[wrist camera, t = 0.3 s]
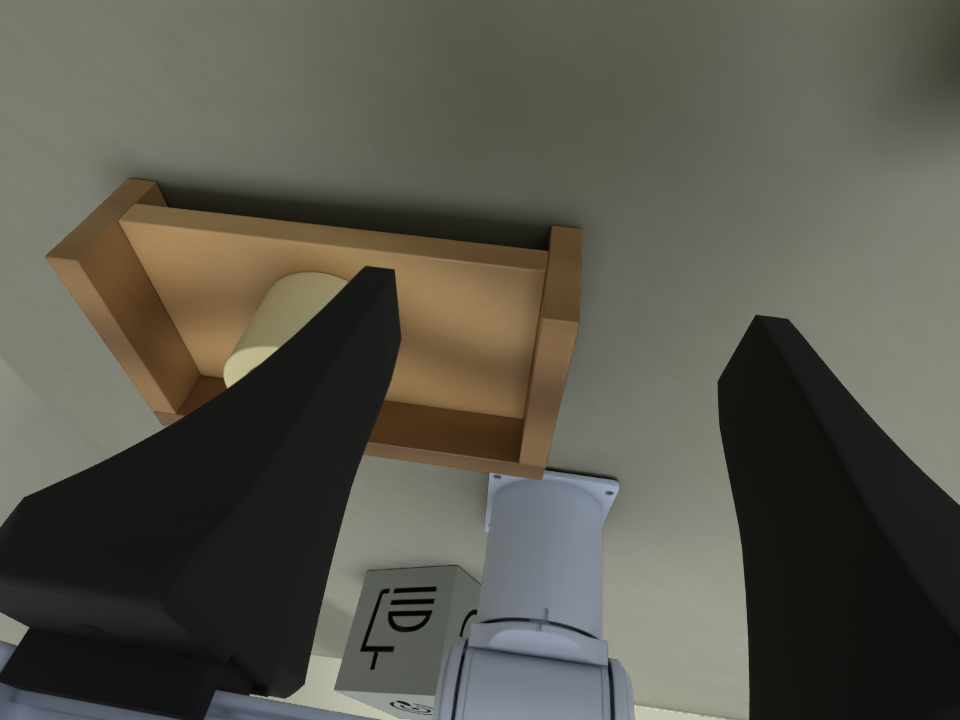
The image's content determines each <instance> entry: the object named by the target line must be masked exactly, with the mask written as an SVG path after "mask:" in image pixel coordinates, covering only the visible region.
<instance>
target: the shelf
mask: <svg viewBox="0 0 960 720" xmlns="http://www.w3.org/2000/svg"><path fill="white" fill-rule="evenodd" d="M582 239H583V230H582V229H578V228H569V227H560V226H552V227H551V233H550V240H549V246H548V251H543V250H534V249H525V248H516V247H508V246H499V245H490V244H482V243H473V242H464V241H456V240H447V239H438V238H430V237H421V236H412V235H404V234H395V233H386V232H378V231H369V230H360V229H352V228H343V227H334V226H326V225H317V224H308V223H300V222H291V221H282V220H274V219H265V218H256V217H247V216H239V215H230V214H221V213H213V212H204V211H195V210H187V209H178V208H169V207H167V205H166V202H165V200H164V198H163V196H162V193H161V191H160V189H159V187H158V185H157V182H155V181H148V180H139V179H131V178H130V179H128V180H127V181H126V182H124V183H123V184H122V185H121V186H120V187H119V188H118V189H117V190H116V191H115V192H114V193H113V194H112V195H110V196H109V197H108V198H107V199H106V200H105V201H104V202H103V203H102V204H101V205H100V206H99V207H98V208H96V209H95V210H94V211H93V212H92V213H91V214H90V215H89V216H88V217H87V218H86V219H85V220H84V221H82V222H81V223H80V224H79V225H78V226H77V227H76V228H75V229H74V230H73V231H72V232H71V233H70V234H68V235H67V236H66V237H65V238H64V239H63V240H62V241H61V242H60V243H59V244H58V245H57V246H56V247H54V248H53V249H52V250H51V251H50V252H49V253H48V254H47V255H46V256H45V258H46V259H47V261H48V262H49V264H50V265H51V267H52V268H53V269H54V271H55V272H56V274H57V275H58V277H59V278H60V279H61V281H62V282H63V284H64V285H65V287H66V288H67V289H68V291H69V292H70V294H71V295H72V297H73V298H74V300H75V301H76V302H77V304H78V305H79V307H80V308H81V310H82V311H83V312H84V314H85V315H86V317H87V318H88V320H89V321H90V322H91V324H92V325H93V327H94V328H95V330H96V331H97V332H98V334H99V335H100V337H101V338H102V340H103V341H104V342H105V344H106V345H107V347H108V348H109V350H110V351H111V352H112V354H113V355H114V357H115V358H116V360H117V361H118V362H119V364H120V365H121V367H122V368H123V370H124V371H125V372H126V374H127V375H128V377H129V378H130V380H131V381H132V383H133V384H134V385H135V387H136V388H137V390H138V391H139V393H140V394H141V395H142V397H143V398H144V400H145V401H146V403H147V404H148V405H149V407H150V408H151V410H152V411H153V413H154V414H155V415H156V417H157V418H158V420H159V421H160V423H161V424H162V425H163V426H170V425H171V424H173V423H175V422H176V421H178V420H179V419H181V418H183V417H184V416H186V415H188V414H189V413H191V412H192V411H194V410H196V409H197V408H199V407H200V406H202V405H204V404H205V403H207V402H208V401H210V400H211V399H213V398H214V397H216V396H217V395H219V394H220V393H222V392H223V391H225V390H226V389H227V386H226V384H225V381H224V376H223V372H224V365H225V363H226V361H227V359H228V357H229V356H230V354H231V352H232V351H233V349H234V347H235V346H236V344H237V342H238V341H239V339H240V338H241V336H242V334H243V333H244V331H245V329H246V328H247V326H248V324H249V323H250V321H251V319H252V318H253V316H254V314H255V313H256V311H257V309H258V308H259V306H260V304H261V303H262V301H263V299H264V298H265V296H266V294H267V293H268V291H269V289H270V288H271V287H272V286H273V284H274V283H276V282H277V281H278V280H280V279H282V278H284V277H286V276H288V275H291V274H295V273H301V272H317V273H324V274H329V275H333V276H336V277H339V278H342V279H345V280H347V281H350V280H351V279H352V278H353V277H354V276H355V275H356V274H357V273H358V272H359V271H360V270H361V269H362V268H364V267H365V266H372V267H380V268H388V269H395V276H396V286H397V297H398V307H399V318H400V328H401V343H400V348H399V352H398V356H397V360H396V364H395V368H394V372H393V376H392V380H391V383H390V386H389V388H388V391H387V394H386V396H385V399H384V402H383V404H382V407H381V409H380V412H379V415H378V417H377V420H376V422H375V425H374V428H373V430H372V433H371V435H370V438H369V440H368V443H367V446H366V448H365V451H364V453H363V455H369V456H376V457H383V458H390V459H397V460H404V461H411V462H418V463H425V464H431V465H438V466H445V467H452V468H459V469H466V470H473V471H480V472H487V473H493V474H500V475H507V476H514V477H521V478H528V479H535V480H542V479H543V476H544V471H545V467H546V463H547V459H548V454H549V450H550V446H551V442H552V437H553V433H554V429H555V425H556V420H557V416H558V412H559V408H560V403H561V399H562V395H563V391H564V386H565V382H566V378H567V374H568V369H569V365H570V361H571V357H572V352H573V348H574V344H575V340H576V336H577V331H578V327H579V321H580V294H581V266H582Z"/></svg>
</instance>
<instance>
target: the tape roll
mask: <svg viewBox="0 0 960 720" xmlns="http://www.w3.org/2000/svg"><path fill="white" fill-rule="evenodd" d="M348 282H349V281H347V280H345V279H342V278H339V277H336V276H333V275H329V274H324V273H317V272H301V273H295V274H291V275H288V276H286V277H284V278H282V279H280V280H278V281H277V282H276V283H274V284H273V286H272V287H271V288H270V289H269V291H268V293H267V294H266V296H265V298H264V299H263V301H262V303H261V304H260V306H259V308H258V309H257V311H256V313H255V314H254V316H253V318H252V319H251V321H250V323H249V324H248V326H247V328H246V329H245V331H244V333H243V334H242V336H241V338H240V339H239V341H238V342H237V344H236V346H235V347H234V349H233V351H232V352H231V354H230V356H229V357H228V359H227V361H226V363H225V365H224V372H223V376H224V381H225V384H226V386H227V388H229V387H230V386H231V385H233V384H234V383H236V382H237V381H238V380H240V379H241V378H242V377H244V376H245V375H246V374H248V373H249V372H250V371H252V370H253V369H254V368H256V367H257V366H258V365H259V364H261V363H262V362H263V361H264V360H266V359H267V358H268V357H269V356H270V355H271V354H273V353H274V352H275V351H276V350H277V349H278V348H280V347H281V346H282V345H283V344H284V343H286V342H287V341H288V340H289V339H290V338H291V337H293V336H294V335H295V334H296V333H297V332H298V331H299V330H300V329H301V328H302V327H303V326H304V325H306V324H307V323H308V322H309V321H310V320H311V319H312V318H313V317H314V316H315V315H316V314H317V313H318V312H319V311H320V310H321V309H322V308H324V307H325V306H326V305H327V304H328V303H329V302H330V301H331V300H332V299H333V298H334V297H335V296H336V295H337V294H338V293H339V292H340V291H341V289H342V288H343V287H344V286H345V285H346V284H347V283H348Z"/></svg>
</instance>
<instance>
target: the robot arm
mask: <svg viewBox="0 0 960 720" xmlns="http://www.w3.org/2000/svg"><path fill="white" fill-rule="evenodd" d="M400 343H401V328H400V318H399V307H398V297H397V286H396V276H395V269H388V268H380V267H372V266H365V267H364V268H362V269H361V270H360V271H359V272H358V273H357V274H356V275H355V276H354V277H353V278H352V279H351V280H350V281H349V282H348V283H347V284H346V285H345V286H344V287H343V288H342V289H341V291H340V292H339V293H338V294H337V295H336V296H335V297H334V298H333V299H332V300H331V301H330V302H329V303H328V304H327V305H326V306H325V307H324V308H322V309H321V310H320V311H319V312H318V313H317V314H316V315H315V316H314V317H313V318H312V319H311V320H310V321H309V322H308V323H307V324H306V325H304V326H303V327H302V328H301V329H300V330H299V331H298V332H297V333H296V334H295V335H294V336H293V337H291V338H290V339H289V340H288V341H287V342H286V343H284V344H283V345H282V346H281V347H280V348H278V349H277V350H276V351H275V352H274V353H273V354H271V355H270V356H269V357H268V358H267V359H266V360H264V361H263V362H262V363H261V364H259V365H258V366H257V367H256V368H254V369H253V370H252V371H250V372H249V373H248V374H246V375H245V376H244V377H242V378H241V379H240V380H238V381H237V382H236V383H234V384H233V385H231V386H230V387H229V388H227V389H226V390H225V391H223V392H222V393H220V394H219V395H217V396H216V397H214V398H213V399H211V400H210V401H208V402H207V403H205V404H204V405H202V406H200V407H199V408H197V409H196V410H194V411H192V412H191V413H189V414H188V415H186V416H184V417H183V418H181V419H179V420H178V421H176V422H175V423H173V424H171V425H170V426H168V427H166V428H165V429H163V430H161V431H159V432H158V433H156V434H154V435H152V436H150V437H149V438H147V439H145V440H143V441H141V442H139V443H138V444H136V445H134V446H132V447H130V448H128V449H126V450H124V451H122V452H120V453H118V454H116V455H115V456H113V457H111V458H109V459H107V460H105V461H103V462H101V463H99V464H97V465H94V466H93V467H90V468H88V469H86V470H84V471H82V472H80V473H77V474H75V475H73V476H71V477H68V478H66V479H64V480H62V481H60V482H57V483H55V484H53V485H51V486H49V487H47V488H44V489H42V490H40V491H38V492H35V493H33V494H31V495H29V496H26V497H24V498H23V499H22V501H21V502H20V503H19V504H18V505H17V507H16V508H15V509H14V510H13V512H12V513H11V514H10V515H9V517H8V518H7V519H6V521H5V522H4V523H3V525H2V526H1V527H0V612H1V613H3V614H5V615H7V616H9V617H11V618H13V619H14V620H16V621H18V622H20V623H22V624H24V625H26V626H28V627H30V628H29V629H28V631H27V633H26V634H25V636H24V637H23V639H22V640H21V642H20V643H19V645H18V646H16V645H13V644H10V643H7V642H3V641H0V720H379V719H373V718H367V717H363V716H357V715H352V714H346V713H341V712H335V711H329V710H324V709H318V708H313V707H307V706H302V705H296V704H291V703H285V702H280V701H274V700H268V699H263V698H258V697H252V696H249V695H250V694H254V695H259V696H265V697H268V696H273V697H278V698H287V697H289V696H291V695H292V694H293V693H295V692H296V691H298V690H299V689H300V688H301V687H302V686H303V685H304V684H305V679H306V674H307V669H308V664H309V660H310V655H311V650H312V646H313V641H314V636H315V631H316V627H317V622H318V617H319V613H320V609H321V605H322V600H323V596H324V592H325V588H326V583H327V579H328V575H329V570H330V567H331V563H332V559H333V555H334V551H335V547H336V543H337V539H338V535H339V531H340V527H341V524H342V520H343V516H344V512H345V509H346V505H347V501H348V498H349V494H350V490H351V487H352V484H353V481H354V478H355V475H356V472H357V469H358V466H359V464H360V461H361V459H362V456H363V453H364V451H365V448H366V446H367V443H368V440H369V438H370V435H371V433H372V430H373V428H374V425H375V422H376V420H377V417H378V415H379V412H380V409H381V407H382V404H383V402H384V399H385V396H386V394H387V391H388V388H389V386H390V383H391V380H392V376H393V372H394V368H395V364H396V360H397V356H398V352H399V348H400ZM718 409H719V425H720V432H721V437H722V443H723V448H724V453H725V458H726V464H727V469H728V474H729V479H730V484H731V489H732V494H733V499H734V504H735V509H736V514H737V519H738V524H739V530H740V537H741V544H742V553H743V565H744V577H745V589H746V606H747V624H748V647H749V688H750V702H749V720H960V505H959V504H958V503H956V502H955V501H954V500H953V499H952V498H951V497H950V496H949V495H948V494H947V493H946V492H945V491H943V490H942V489H941V488H940V487H939V486H938V485H937V484H936V483H935V482H934V481H933V480H932V479H930V478H929V477H928V476H927V475H926V474H925V473H924V472H923V471H922V470H921V469H920V468H919V467H918V466H917V465H916V464H915V463H914V462H913V461H912V460H911V459H910V458H909V457H908V456H907V455H906V454H905V453H904V452H903V451H902V450H901V449H900V448H899V447H898V446H897V445H896V444H895V443H894V442H893V441H892V439H891V438H890V437H889V436H888V435H887V434H886V433H885V432H884V431H883V430H882V429H881V428H880V427H879V426H878V425H877V423H876V422H875V421H874V420H873V419H872V418H871V417H870V416H869V415H868V413H867V412H866V411H865V410H864V409H863V408H862V407H861V406H860V404H859V403H858V402H857V401H856V400H855V399H854V397H853V396H852V395H851V394H850V393H849V392H848V390H847V389H846V388H845V387H844V386H843V384H842V383H841V382H840V381H839V380H838V378H837V377H836V376H835V375H834V374H833V372H832V371H831V370H830V369H829V368H828V366H827V365H826V364H825V363H824V361H823V360H822V359H821V358H820V357H819V355H818V354H817V353H816V352H815V350H814V349H813V348H812V347H811V346H810V344H809V343H808V342H807V341H806V339H805V338H804V337H803V336H802V335H801V333H800V332H799V331H798V330H797V329H796V327H795V326H794V325H793V324H792V323H791V322H790V321H789V320H788V319H785V318H777V317H769V316H761V315H755V317H754V319H753V320H752V322H751V324H750V326H749V327H748V329H747V331H746V333H745V334H744V336H743V338H742V340H741V341H740V343H739V345H738V347H737V348H736V350H735V352H734V354H733V355H732V357H731V359H730V361H729V362H728V364H727V366H726V368H725V369H724V371H723V373H722V375H721V376H720V378H719V380H718ZM618 491H619V483H618V482H617V481H615V480H609V479H602V478H596V477H589V476H582V475H575V474H568V473H561V472H554V471H547V470H545V471H544V476H543V479H542V480H535V479H528V478H521V477H514V476H507V475H500V474H493V473H490V474H489V485H488V497H487V508H486V519H485V531H486V532H487V533H488V540H487V547H486V554H485V561H484V568H483V575H482V582H481V589H480V596H479V603H478V610H477V617H476V623H474V622H472V623H471V624H470V631H469V638H465V637H458V638H457V639H456V641H455V642H454V643H453V644H452V645H450V646H449V647H448V648H447V650H446V652H445V655H444V658H443V661H442V665H441V669H440V673H439V678H438V683H437V689H436V695H435V701H434V708H433V716H432V720H635V716H634V701H633V692H632V685H631V680H630V677H629V674H628V673H627V672H626V670H625V669H624V668H623V667H622V665H621V663H620V661H619V660H617V659H613V658H608V642H607V641H605V640H602V526H603V524H604V521H605V519H606V517H607V515H608V513H609V510H610V508H611V506H612V504H613V502H614V500H615V497H616V495H617V493H618Z"/></svg>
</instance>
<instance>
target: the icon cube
mask: <svg viewBox="0 0 960 720" xmlns="http://www.w3.org/2000/svg"><path fill="white" fill-rule="evenodd" d="M480 589H481V585H480V584H479V583H478V582H476V581H475V580H474V579H473V578H472V577H471V576H469V575H468V574H467V573H466V572H465V571H463V570H462V569H461V568H460V567H459V566H458V565H457V566H441V567H424V568H408V569H392V570H376V571H367V573H366V577H365V581H364V584H363V588H362V591H361V595H360V598H359V602H358V606H357V609H356V613H355V616H354V620H353V623H352V627H351V631H350V634H349V638H348V641H347V645H346V648H345V652H344V655H343V659H342V663H341V666H340V670H339V673H338V677H337V681H336V684H335V688H334V690H335V691H337V692H339V693H342V694H344V695H346V696H349V697H351V698H353V699H356V700H358V701H360V702H362V703H365V704H367V705H369V706H372V707H374V708H377V709H379V710H381V711H383V712H385V713H388V714H390V715H392V716H395V717H397V718H400V719H411V720H432V716H433V708H434V701H435V695H436V689H437V683H438V678H439V673H440V669H441V665H442V661H443V658H444V655H445V652H446V650H447V648H448V647H449V646H450V645H452V644H453V643H454V642H455V641H456V639H457V638H458V637H465V638H469V631H470V624H471V623H472V622H474V623H476V617H477V610H478V603H479V596H480Z"/></svg>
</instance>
